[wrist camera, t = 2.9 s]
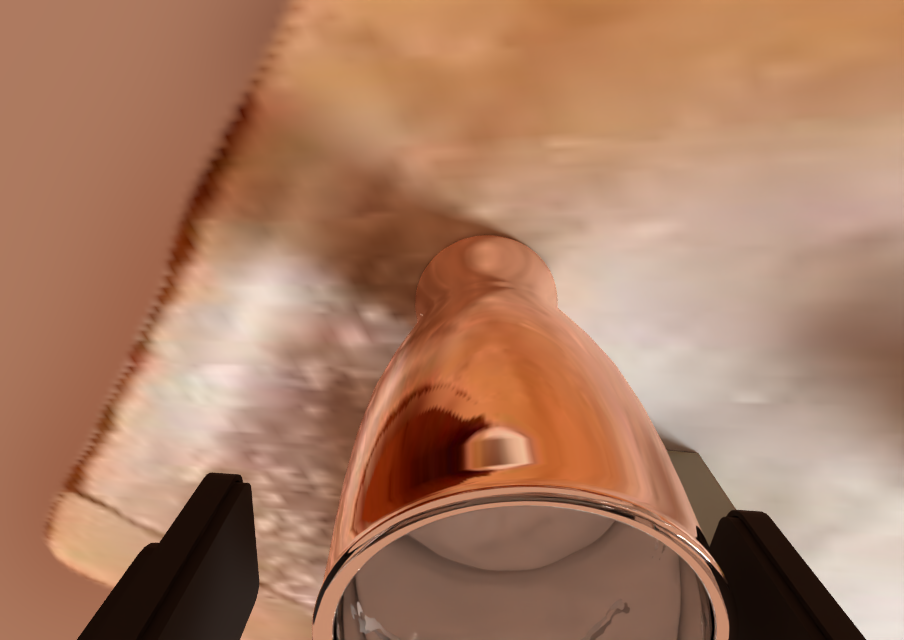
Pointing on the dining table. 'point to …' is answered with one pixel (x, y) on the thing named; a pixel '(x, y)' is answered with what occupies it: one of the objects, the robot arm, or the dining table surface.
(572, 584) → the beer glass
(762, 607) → the robot arm
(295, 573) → the dining table surface
